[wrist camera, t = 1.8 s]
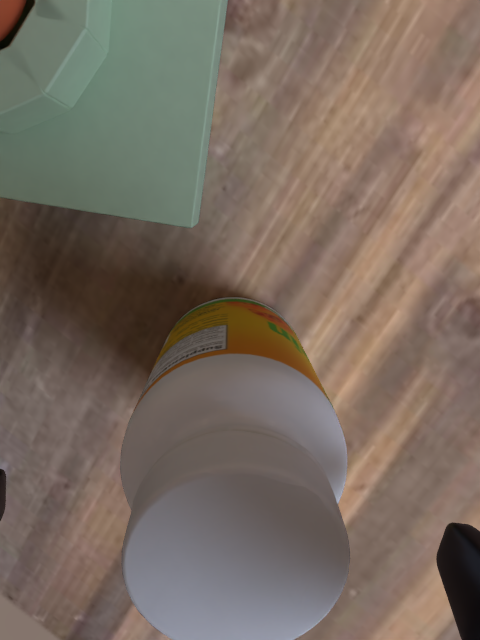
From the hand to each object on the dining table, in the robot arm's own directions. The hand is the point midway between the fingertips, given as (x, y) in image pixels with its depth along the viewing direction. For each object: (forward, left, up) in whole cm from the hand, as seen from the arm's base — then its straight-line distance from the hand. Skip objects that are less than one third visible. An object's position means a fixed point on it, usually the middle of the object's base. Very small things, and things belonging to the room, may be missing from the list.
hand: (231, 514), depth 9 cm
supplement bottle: (0, 0, -9) cm, 9 cm away
